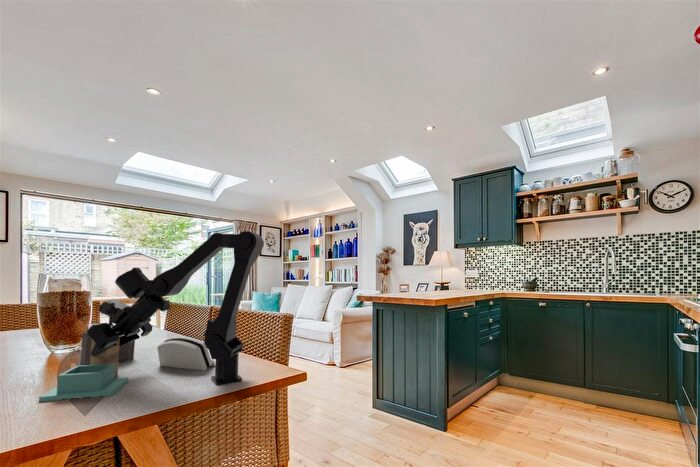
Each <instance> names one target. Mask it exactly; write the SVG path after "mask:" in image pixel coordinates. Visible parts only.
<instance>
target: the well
mask: <svg viewBox="0 0 700 467" xmlns="http://www.w3.org/2000/svg"><path fill="white" fill-rule="evenodd" d="M115 364H116V363H112V364H95V365H82V364H79V365H75V366H73V367H71V368H70V369H68V370H66V371H64V372H62V373H60V374H59V375H57V386H55V387H53V388H52V389H51V390H48V391H47V392H45V393H43V394H42V395H40V396H39V397H38V403H39V402H40V403H41V402H52V401H53V402H55V401H63V400H62V399H67V400H71V399H70V398H74V397H75V398H77V397H91V398H100V397H99V396H103V397H111V396H112V397H113V395H114V394H115V393H116V392H118V391H119V390H120V389H121V388H122V387H123V386H124V385H126V383H128V382H129V376H128V377H127V376H126V377H116V376H115Z"/></svg>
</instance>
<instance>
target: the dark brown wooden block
mask: <svg viewBox="0 0 700 467" xmlns="http://www.w3.org/2000/svg"><path fill="white" fill-rule="evenodd" d="M111 319H112V317H110V316H108V322H107V323H108V324H109V326H110V327H112V326H114V325H115V324H114V323H112V321H111ZM91 342H92V338H91V337H90V336H89V335H88V333H87V331H86V332H82V336H81V349H80V350H81V351H80V362H79V365H90V357H91ZM135 342H136V340H134V341H132V342H129V343H127V344H125V345H123V346H120V347H119V361H118V364H120V363H121V364H122V363H125V362H128V361H131V360H133V359H134V357H135V346H136V345H135V344H136V343H135Z"/></svg>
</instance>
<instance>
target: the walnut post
mask: <svg viewBox="0 0 700 467" xmlns="http://www.w3.org/2000/svg"><path fill="white" fill-rule="evenodd" d="M111 328H112V327H111ZM95 344H96V343H95V342H94V340H93V339H92V342H91V352H92V350H93V348H94V346H95ZM116 344H117V345H116V346H114V347H112V348H110V349H108V350H106V351H104V352H102V353H100V354H98V355H96V356H92V355H91V357H90V365H95V364H112V363H116V364H115V377H118V375H119V373H118V372H119V363H118V361H119V344H120V337H119V339H118V341H117V342H116Z"/></svg>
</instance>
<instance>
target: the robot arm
mask: <svg viewBox="0 0 700 467" xmlns="http://www.w3.org/2000/svg"><path fill="white" fill-rule="evenodd" d="M264 244H265V241H264V239H263V238H262V236H261V235H260V234H258V233H256V232H252V231H247V230H245V231H242V232H240V233H238V234H237V233H236V234H235V233H220V232H214V233H212V234H211V235H210V237H209V238H207V240H205V241H204V242H203V243H202V244H201V245H200V246H199V247H197V248H196V249H195V250H194V251H192V252H191V253H190V254H189V255H188V256H187V257H186V258H184V259H183V261H181V262H180V263H179V264H177V265H176V266H174V267H172V268H169V269H167V270H165V271H163V272H161V273H160V274H159V275H157V276H155V277H154V278H153V279H151V280H150V279H149V278H148V276H146V275H145V274H144V273H143V271H142V269H141V268H140V267H132V268H131V269H130V270H128V271H127V270H126V272H124V273H123V274H120V275H118V277H117V278H116V279H115V280H114V284H115V285H116V286H117V287H118V288H119V289H120V290H121V291H122V293H123V294H124V295H125V296H126V297H127V298H128V299H130V300H131V299H135V302H134V303H133V304H132V305H131V306H130V305H128V304H126V303H125V302H122V301H120V300H119V299H110V300H109V299H108V300H105V301H102V303H101V304H99V305H98V312H99V313H100V314H102V315H105V316H108V317H109V316H110V317H112V319H111V321H112V323H113V325H114V326H112V328H111V327H110V326H109V324H108V323H109V322H100V323H96V324H92V325H90V327H89V328H88V329H86V332H87V333H88V335H89V336H90V337H91V338H92V339H93V340H94V342H95V343H96V344H95V346H94V348H93V350H92V352H91V355H92V356H96V355H98V354H100V353H102V352H104V351H106V350H108V349H110V348H112V347H114V346H116V345H117V344H116V342H117V341H118V339H119V337H120V344H119V347H120V346H123V345H125V344H127V343H129V342H132V341H134V340H135V341H136V340H139V339H140V337H142V338H144V337H146V336H148V335H149V334H150V333H152V331H153V326H152V324H151V323H150V322H151V321H152V319H151V318H152V317H153V316H154V315H155V314H156V312H158V311H159V310H160V312H165V311H169V310H171V305H170V301H171V300H170V299H168V300H166V299H165V298H164V297H171V296H176V295H179V294H180V293H181V292H182V290H184V288H186V286H187V284H188V283H189V281H190V279H191V277H193V276H194V274H196V272H197V271H199V270H200V269H201V268H202V267H203V266H204V265H205V264H207V263H208V262H209V261H210V260H211V259H212V258H214V257H215V256H216V255H217V254H218V253H219V252H220V251H222V250H223V249H233V260H234V264H233V267H232V270H231V274H230V276H229V279H228V281H227V282H228V283H227V286H226V290H225V293H224V295H223V298H222V301H221V306H220V308H219V312H218V315H217V316H216V317H215V318H212V319H209V320H207V323H206V329H205V331H204V333H203V334H202V336H203V337H204V340H203V342H204V344H205V345H206V347H207V350H208V352H209V355H210V358H211V360H215V361H214V362H215V366H214V367H215V369H214V375H211V376H210V379H211V380H212V381H213V383H214V384H215V385H222V384H228V383H234V382H239V381H243V378H242V377H241V376H240V375H239V354H240V353H241V352H242V351H243V348H244V347H245V344H244V343H243V342H242V340H240V339H239V338H238V337H237V329H238V326H237V315H238V311H239V307H240V305H241V301H242V298H243V295H244V292H245V288H246V285H247V281H248V279H249V276H250V273H251V268H252V266H253V265H254V264H255V262H256V261H257V259H258V258H259V257H260V254H261V252H262V250H263V248H264ZM140 332H141V334H140V335H139V333H140Z"/></svg>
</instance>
